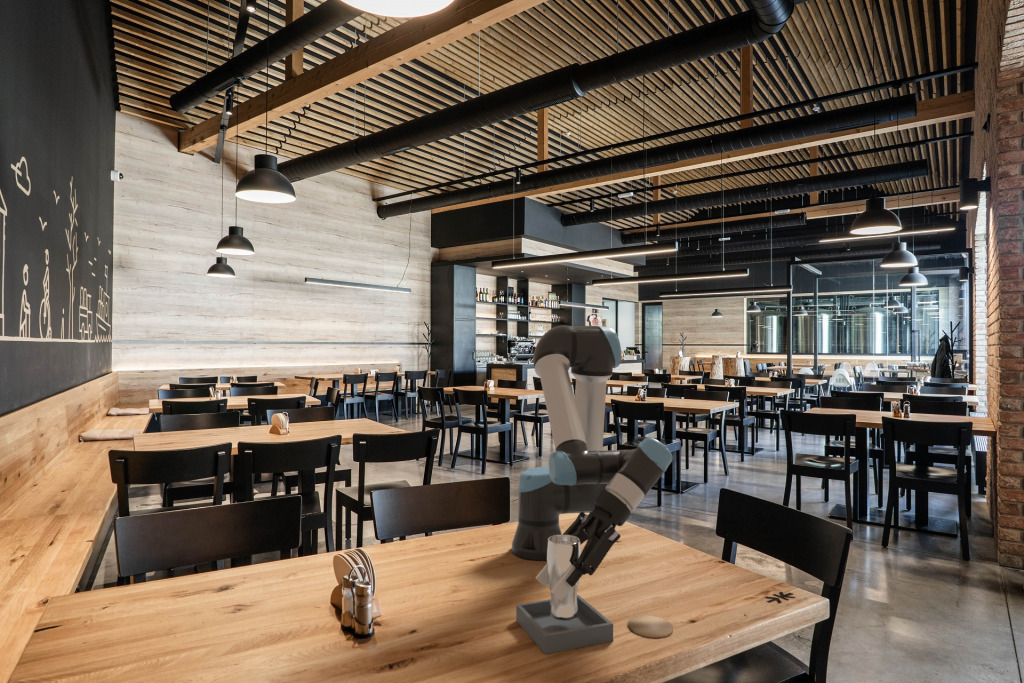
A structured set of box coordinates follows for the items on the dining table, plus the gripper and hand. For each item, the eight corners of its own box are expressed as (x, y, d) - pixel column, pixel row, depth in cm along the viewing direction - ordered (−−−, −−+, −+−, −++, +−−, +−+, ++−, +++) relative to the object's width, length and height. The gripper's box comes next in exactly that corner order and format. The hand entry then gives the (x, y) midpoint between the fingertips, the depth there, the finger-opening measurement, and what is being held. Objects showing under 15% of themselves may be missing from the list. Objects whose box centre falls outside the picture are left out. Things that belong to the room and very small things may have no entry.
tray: (516, 620, 120) (516, 604, 120) (578, 609, 126) (578, 594, 126) (545, 654, 107) (545, 636, 107) (613, 640, 112) (613, 623, 112)
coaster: (619, 621, 120) (619, 619, 120) (655, 614, 124) (655, 612, 124) (644, 641, 112) (644, 639, 112) (682, 633, 115) (682, 631, 115)
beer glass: (579, 623, 112) (579, 546, 112) (544, 620, 113) (544, 543, 114) (582, 608, 119) (582, 535, 119) (549, 605, 120) (549, 533, 121)
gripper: (656, 524, 113) (582, 621, 107) (605, 501, 131) (539, 583, 125) (633, 499, 111) (557, 596, 105) (584, 479, 130) (517, 561, 123)
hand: (547, 589), depth 115 cm, fingers closed on beer glass, 7 cm apart
